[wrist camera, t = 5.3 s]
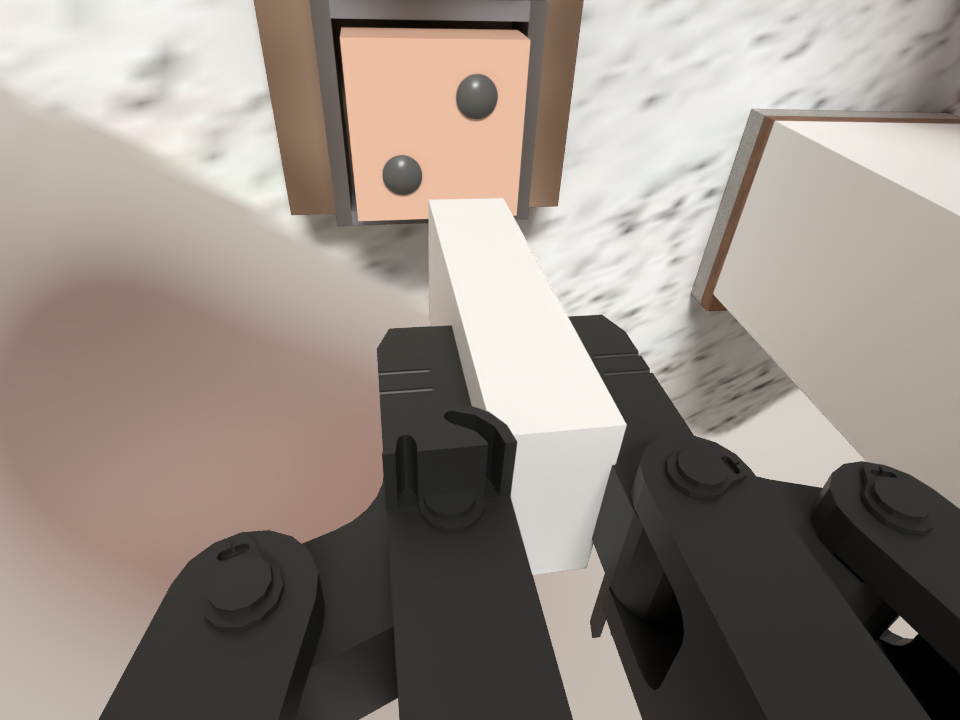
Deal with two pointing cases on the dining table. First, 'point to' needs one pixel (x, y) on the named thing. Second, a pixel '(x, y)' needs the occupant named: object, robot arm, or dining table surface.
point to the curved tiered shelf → (852, 274)
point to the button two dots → (433, 116)
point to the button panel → (322, 100)
